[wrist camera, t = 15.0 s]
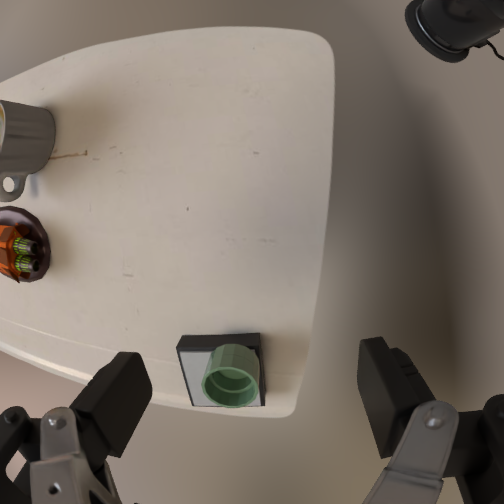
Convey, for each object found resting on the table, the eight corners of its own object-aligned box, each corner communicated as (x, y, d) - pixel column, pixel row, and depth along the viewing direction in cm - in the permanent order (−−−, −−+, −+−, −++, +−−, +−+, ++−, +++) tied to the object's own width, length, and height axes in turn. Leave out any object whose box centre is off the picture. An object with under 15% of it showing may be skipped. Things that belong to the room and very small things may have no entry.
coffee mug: (20, 111, 29) (-25, 105, 19) (61, 105, 29) (12, 93, 19) (9, 195, 32) (-36, 203, 23) (48, 199, 32) (-2, 209, 23)
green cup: (257, 340, 31) (255, 365, 27) (261, 380, 33) (260, 407, 28) (205, 342, 32) (196, 367, 27) (214, 381, 33) (207, 407, 28)
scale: (259, 332, 35) (258, 347, 32) (265, 392, 37) (265, 408, 34) (182, 335, 36) (174, 349, 32) (196, 392, 38) (191, 408, 35)
